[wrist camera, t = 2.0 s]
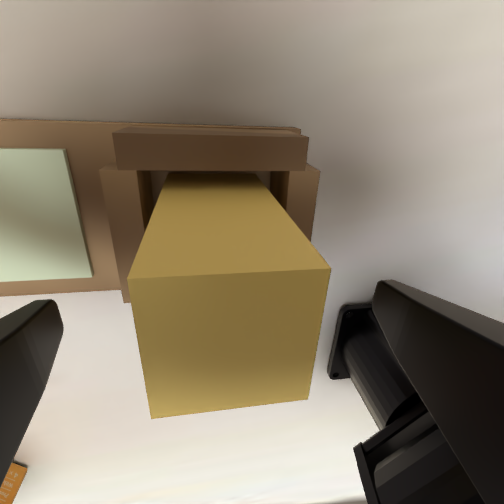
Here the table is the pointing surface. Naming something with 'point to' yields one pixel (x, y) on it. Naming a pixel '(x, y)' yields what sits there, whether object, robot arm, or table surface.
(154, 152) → the pocket
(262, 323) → the block
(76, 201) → the board
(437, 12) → the table surface
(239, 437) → the table surface
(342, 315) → the robot arm
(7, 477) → the small box
